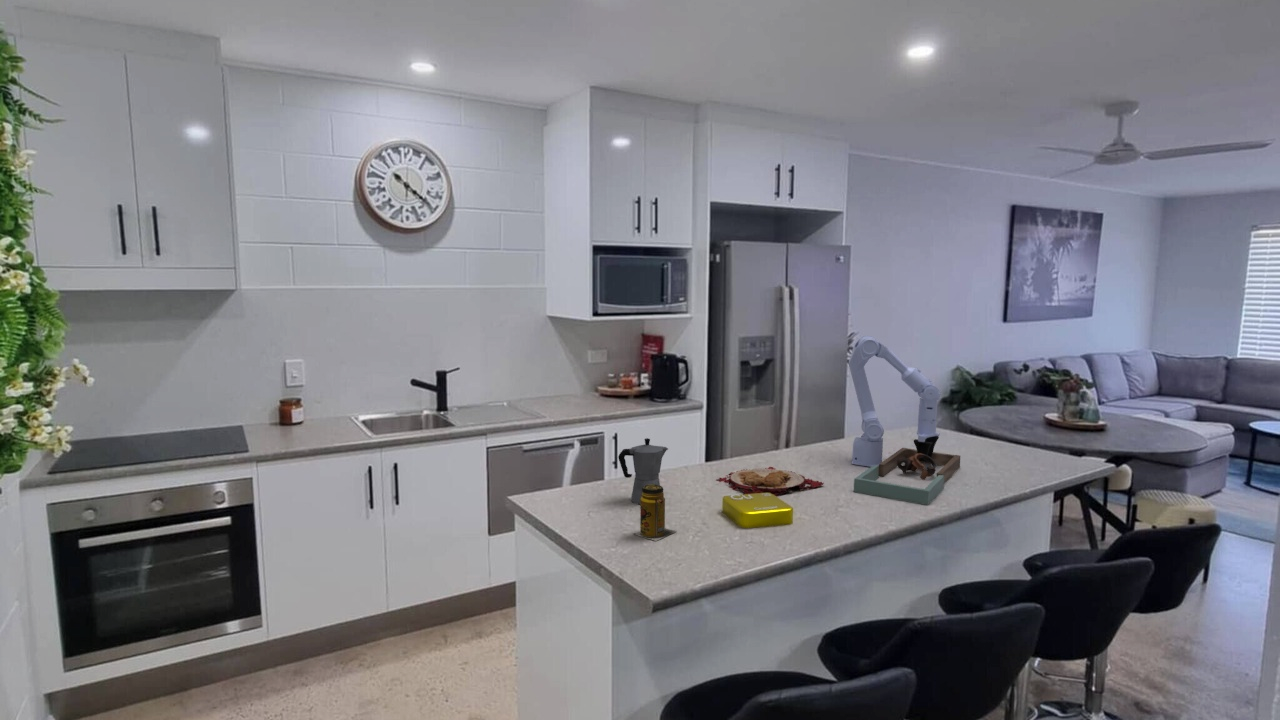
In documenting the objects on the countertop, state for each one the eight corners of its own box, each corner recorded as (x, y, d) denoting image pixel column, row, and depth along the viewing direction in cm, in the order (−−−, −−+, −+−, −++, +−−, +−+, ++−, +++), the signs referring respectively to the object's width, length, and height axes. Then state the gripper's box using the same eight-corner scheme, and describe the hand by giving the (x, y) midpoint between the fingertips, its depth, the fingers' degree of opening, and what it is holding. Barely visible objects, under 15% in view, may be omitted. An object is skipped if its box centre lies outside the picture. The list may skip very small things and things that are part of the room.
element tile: (741, 530, 173) (742, 511, 173) (719, 511, 188) (720, 494, 187) (795, 525, 177) (796, 507, 177) (769, 506, 192) (770, 490, 191)
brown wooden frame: (878, 476, 222) (879, 464, 221) (902, 458, 244) (902, 447, 244) (941, 486, 211) (942, 473, 210) (959, 467, 233) (960, 455, 233)
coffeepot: (659, 492, 203) (660, 433, 201) (675, 502, 194) (675, 439, 192) (611, 499, 196) (611, 437, 194) (625, 509, 188) (625, 445, 186)
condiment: (632, 534, 169) (633, 487, 168) (654, 525, 176) (654, 479, 174) (655, 541, 164) (656, 493, 163) (677, 532, 171) (677, 485, 170)
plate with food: (824, 489, 210) (825, 478, 210) (757, 500, 196) (758, 488, 196) (770, 471, 231) (771, 461, 231) (706, 480, 218) (707, 469, 217)
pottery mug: (922, 472, 229) (934, 454, 224) (930, 492, 221) (942, 473, 216) (888, 463, 228) (899, 445, 223) (895, 483, 220) (906, 464, 216)
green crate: (853, 491, 205) (854, 478, 205) (873, 477, 221) (874, 464, 220) (928, 505, 193) (928, 491, 192) (943, 488, 209) (944, 475, 208)
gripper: (935, 424, 222) (932, 465, 224) (944, 417, 234) (942, 456, 236) (912, 421, 227) (910, 461, 228) (923, 415, 238) (921, 453, 240)
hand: (925, 458), depth 232 cm, fingers open, 7 cm apart
